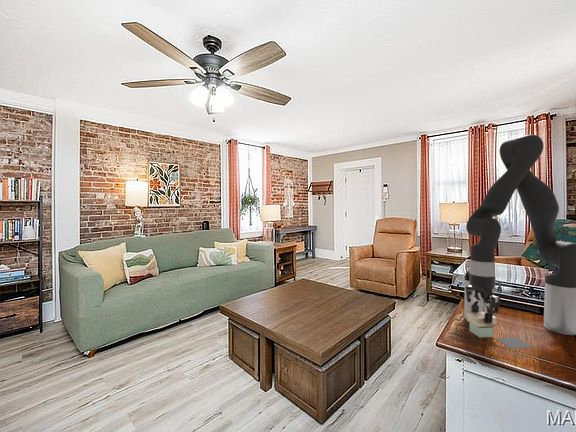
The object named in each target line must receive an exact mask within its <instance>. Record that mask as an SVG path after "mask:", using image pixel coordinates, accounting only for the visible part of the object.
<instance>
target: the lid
mask: <svg viewBox="0 0 576 432" xmlns="http://www.w3.org/2000/svg"><path fill="white" fill-rule="evenodd" d="M484 315H485V311H483V312H467V320H466V321H467V322H468V323H469V324H470V323H472V324H474V325H475V326H477V327H486V326H491V327H497V326H498V317H496V316H495V315H493V319H492V320H493V321H492V323H489V324H487V323H485V322H484Z"/></svg>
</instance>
